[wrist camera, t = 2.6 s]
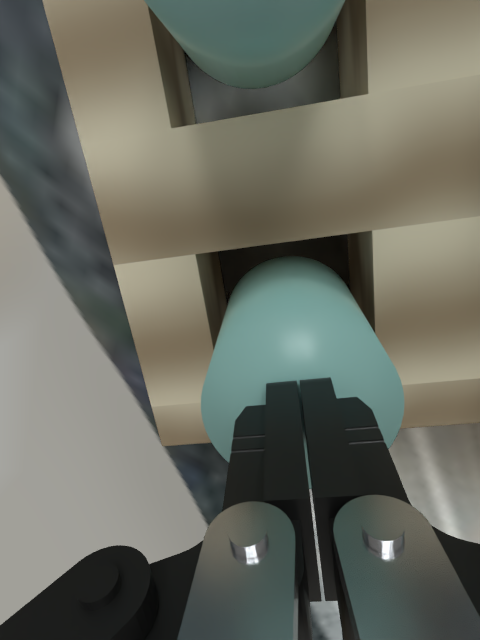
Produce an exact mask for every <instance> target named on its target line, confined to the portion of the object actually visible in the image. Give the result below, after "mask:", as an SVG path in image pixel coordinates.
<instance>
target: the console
mask: <svg viewBox="0 0 480 640" xmlns="http://www.w3.org/2000/svg"><path fill="white" fill-rule="evenodd" d="M42 1H43V4H44V8H45V12H46V16H47V19H48V23H49V27H50V30H51V34H52V38H53V42H54V45H55V49H56V53H57V57H58V60H59V64H60V68H61V71H62V75H63V79H64V83H65V86H66V90H67V94H68V97H69V101H70V105H71V109H72V112H73V116H74V120H75V123H76V127H77V131H78V135H79V138H80V142H81V146H82V150H83V153H84V157H85V161H86V164H87V168H88V172H89V176H90V179H91V183H92V187H93V190H94V194H95V198H96V202H97V205H98V209H99V213H100V216H101V220H102V224H103V228H104V231H105V235H106V239H107V243H108V246H109V250H110V254H111V257H112V261H113V265H114V269H115V272H116V276H117V280H118V283H119V287H120V291H121V295H122V298H123V302H124V306H125V309H126V313H127V317H128V321H129V324H130V328H131V332H132V336H133V339H134V343H135V347H136V350H137V354H138V358H139V362H140V365H141V369H142V373H143V376H144V380H145V384H146V388H147V391H148V395H149V399H150V402H151V406H152V410H153V414H154V417H155V421H156V425H157V429H158V432H159V436H160V440H161V443H162V446H171V445H184V444H198V443H212V442H211V441H210V439H209V437H208V434H207V432H206V430H205V427H204V423H203V420H202V414H201V395H202V389H203V384H204V381H205V378H206V375H207V371H208V368H209V365H210V361H211V358H212V355H213V352H214V348H215V345H216V342H217V338H218V335H219V332H220V328H221V325H222V322H223V319H224V315H225V312H226V309H227V302H226V296H225V290H224V284H223V278H222V272H221V266H220V261H219V255H218V251H223V250H230V249H238V248H245V247H253V246H260V245H268V244H275V243H283V242H290V241H298V240H305V239H313V238H320V237H328V236H335V235H343V234H347V237H348V257H349V277H350V292H351V294H352V295H353V297H354V299H355V300H356V302H357V304H358V306H359V307H360V309H361V311H362V312H363V314H364V316H365V317H366V319H367V321H368V322H369V324H370V326H371V328H372V329H373V331H374V333H375V334H376V336H377V338H378V339H379V341H380V343H381V344H382V346H383V348H384V349H385V351H386V353H387V355H388V356H389V358H390V360H391V361H392V363H393V365H394V366H395V368H396V370H397V372H398V375H399V377H400V379H401V383H402V387H403V391H404V415H403V419H402V423H401V427H400V429H401V428H415V427H428V426H442V425H455V424H469V423H480V0H345V2H344V4H343V6H342V9H341V11H340V13H339V15H338V17H337V19H336V22H337V41H338V61H339V80H340V99H337V100H331V101H326V102H320V103H314V104H308V105H303V106H297V107H291V108H286V109H280V110H274V111H268V112H263V113H257V114H251V115H246V116H240V117H234V118H228V119H223V120H217V121H211V122H205V123H200V124H196V119H195V114H194V108H193V102H192V96H191V90H190V84H189V78H188V72H187V67H186V61H185V55H184V50H183V48H182V47H181V46H180V45H179V43H178V42H177V41H176V40H175V38H174V37H173V36H172V35H171V33H170V32H169V31H168V30H167V28H166V27H165V26H164V25H163V23H162V22H161V21H160V20H159V18H158V17H157V16H156V15H155V14H154V12H153V11H152V10H151V9H150V7H149V6H148V5H147V4H146V2H145V1H144V0H42Z"/></svg>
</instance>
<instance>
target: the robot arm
mask: <svg viewBox="0 0 480 640" xmlns="http://www.w3.org/2000/svg"><path fill="white" fill-rule="evenodd" d="M300 390H301V399H302V408H303V418H304V427H305V436H306V445H307V454H308V462H309V470H310V479H311V487H312V495H313V503H314V511H315V520H316V528H317V536H318V544H319V552H320V561H321V569H322V577H323V585H324V594H325V601H338V607H339V613H340V620H341V627H342V636H343V640H480V544H477V543H473V542H468V541H465V540H461V539H458V538H455V537H452V536H450V535H447V534H445V533H443V532H442V531H440V530H438V529H436V528H435V527H433V526H432V525H430V523H429V522H428V520H427V519H426V518H425V517H424V516H423V515H422V514H421V513H420V512H419V511H418V510H417V509H416V508H414V507H412V505H411V504H410V502H409V500H408V498H407V495H406V493H405V490H404V488H403V485H402V483H401V480H400V478H399V475H398V473H397V470H396V468H395V465H394V463H393V460H392V458H391V455H390V453H389V450H388V448H387V446H386V443H384V438H383V436H382V433H381V431H380V429H379V427H378V423H377V421H376V418H375V416H374V413H373V411H372V409H371V408H370V407H369V406H367V405H366V404H365V403H364V402H363V401H361V400H360V399H359V398H358V397H348V398H336V395H335V391H334V387H333V384H332V380H331V378H330V377H328V378H317V379H306V380H300ZM313 601H321V592H320V583H319V574H318V565H317V556H316V547H315V538H314V529H313V520H312V511H311V502H310V493H309V484H308V476H307V467H306V458H305V449H304V440H303V431H302V423H301V414H300V405H299V396H298V387H297V380H296V381H285V382H274V383H266V405H255V406H246V407H245V408H244V409H243V411H242V412H241V413H240V415H239V416H238V417H237V419H236V420H235V425H234V432H233V440H232V447H231V454H230V461H229V468H228V475H227V482H226V489H225V496H224V503H223V510H222V512H221V513H220V514H219V515H218V516H217V517H216V518H215V519H214V520H213V521H212V522H211V524H210V525H209V527H208V529H207V531H206V534H205V536H204V540H203V541H202V542H200V543H199V544H198V545H196V546H194V547H193V548H191V549H189V550H187V551H184V552H182V553H180V554H177V555H174V556H171V557H168V558H165V559H163V560H160V561H157V562H154V563H151V564H148V561H147V559H146V557H145V556H144V555H143V554H142V553H141V552H140V551H138V550H137V549H135V548H132V547H129V546H111V547H107V548H103V549H100V550H98V551H96V552H93V553H92V554H90V555H88V556H86V557H85V558H84V559H82V560H81V561H79V562H78V563H77V564H76V565H74V566H73V567H72V568H71V569H69V570H68V571H67V572H66V573H64V574H63V575H62V576H61V577H59V578H58V579H57V580H56V581H54V582H53V583H52V584H51V585H50V586H48V587H47V588H46V589H45V590H43V591H42V592H41V593H40V594H38V595H37V596H36V597H35V598H34V599H32V600H31V601H30V602H29V603H27V604H26V605H25V606H24V607H22V608H21V609H20V610H19V611H17V612H16V613H15V614H14V615H13V616H11V617H10V618H9V619H8V620H6V621H5V622H4V623H3V624H2V625H0V640H312V622H311V610H310V602H313Z"/></svg>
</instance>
